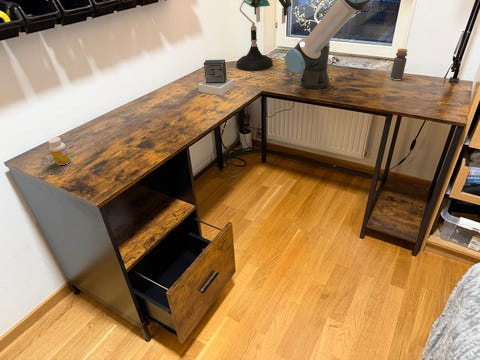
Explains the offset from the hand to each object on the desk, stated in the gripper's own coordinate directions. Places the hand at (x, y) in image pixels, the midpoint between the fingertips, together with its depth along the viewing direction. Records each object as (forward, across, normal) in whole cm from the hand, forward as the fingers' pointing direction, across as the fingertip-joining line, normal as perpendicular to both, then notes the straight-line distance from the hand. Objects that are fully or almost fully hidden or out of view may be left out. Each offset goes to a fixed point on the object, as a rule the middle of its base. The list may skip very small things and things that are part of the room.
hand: (270, 22), depth 163 cm
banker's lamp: (+31, -23, +26) cm, 46 cm away
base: (+31, -23, -18) cm, 42 cm away
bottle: (+31, +59, +31) cm, 73 cm away
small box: (+26, -23, -18) cm, 39 cm away
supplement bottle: (+31, -37, -104) cm, 114 cm away
